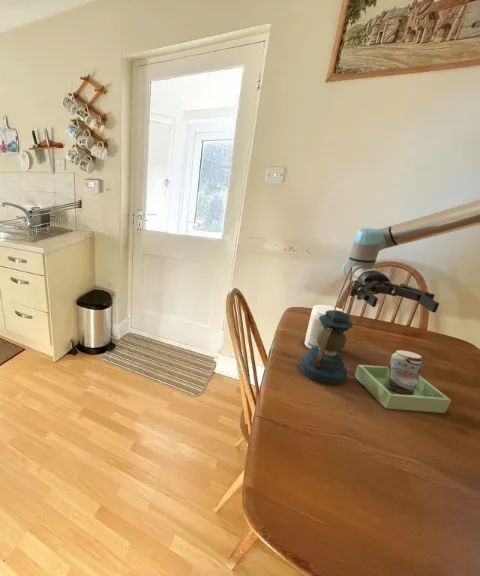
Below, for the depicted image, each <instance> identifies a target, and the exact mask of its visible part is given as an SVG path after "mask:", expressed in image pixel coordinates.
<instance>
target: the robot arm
mask: <svg viewBox="0 0 480 576" xmlns="http://www.w3.org/2000/svg"><path fill="white" fill-rule="evenodd" d="M477 226H480V199H476V200H474V201H470V202H467V203H463V204H460V205H457V206H453V207H450V208H447V209H443V210H440V211H437V212H433V213H430V214H426V215H424V216H419V217H417V218H413V219H410V220H406V221H402V222H399V223H396V224H393V225H390V226H386V227H383V228H369V227H366V228H365V227H363V228H359V229H358V230H357V231H356V233H355V236H354V237H353V242H352V247H351V250H350V254H349V258H348V259H347V260H346V261H345V262H344V263H343V265H342V267H341V273H342V274H343V275H344V276H345V279H346V278H347V275H348V273H349V271H350V268H351V266H352V274H351V282H352V285H351V287H350V290H349V296H350V297H355V296H356V300H358V301H362V300H364V301H365V302H366V303H367V304H368V305H369V306H371V307H372V308H376V306H377V303H378V300H379V298H378V297H377V296H376V295H379V294H383V295H387V296H392V297H400V298H405V299H408V300H412V301H415V302H418V305H420V306H422V307H424V308H425V309H426V310H427V311H430V312H431V313H437V310H438V309H439V305H440V303H439V302H437V301H436V300H434V298H435V296H436V295H435V293H431V292H429V291H425V290H422V289H419V288H416V287H413V286H409V285H407V284H406V283H399V284H397V283H396V284H395V283H393V282H392V281H390V278H389V277H388V276H387V275H386V274H384V273H382V272H381V271H380V270H378V269H376V268H375V265H376V262H377V258H378V255H379V252H380V251H382V250H385V249H389V248H392V247H397V246H400V245H404V244H408V243H412V242H416V241H420V240H425V239H428V238H432V237H436V236H441V235H445V234H448V233H452V232H456V231H462V230H464V229H469V228H473V227H477ZM350 273H351V271H350ZM350 273H349V276H348V278H347V280H349V281H350Z"/></svg>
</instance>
